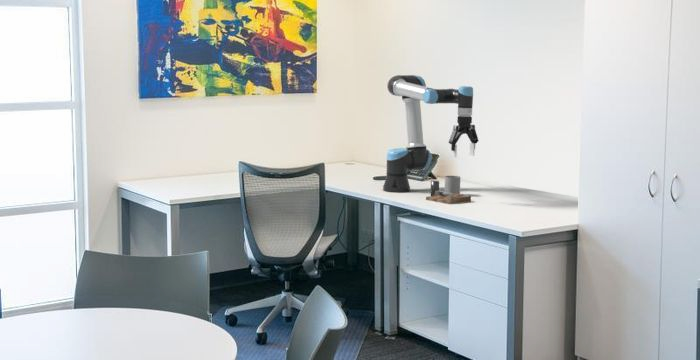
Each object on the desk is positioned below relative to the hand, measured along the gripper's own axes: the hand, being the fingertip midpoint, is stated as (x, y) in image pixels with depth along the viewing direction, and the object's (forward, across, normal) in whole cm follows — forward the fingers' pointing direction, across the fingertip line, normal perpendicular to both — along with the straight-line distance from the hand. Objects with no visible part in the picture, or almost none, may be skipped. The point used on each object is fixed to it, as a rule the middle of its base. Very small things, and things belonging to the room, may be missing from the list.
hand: (463, 156), depth 472 cm
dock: (+23, -9, 0) cm, 25 cm away
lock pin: (+22, -8, +6) cm, 24 cm away
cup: (+23, +7, +14) cm, 28 cm away
